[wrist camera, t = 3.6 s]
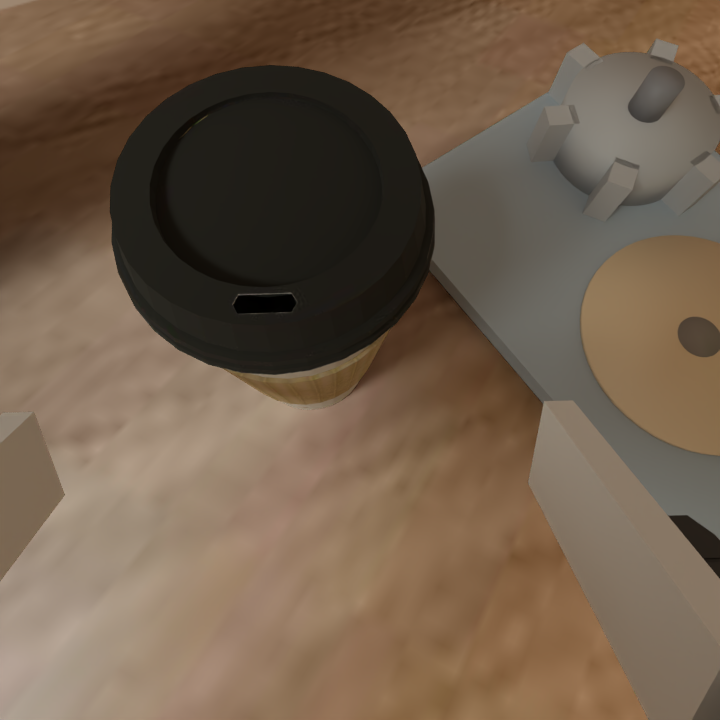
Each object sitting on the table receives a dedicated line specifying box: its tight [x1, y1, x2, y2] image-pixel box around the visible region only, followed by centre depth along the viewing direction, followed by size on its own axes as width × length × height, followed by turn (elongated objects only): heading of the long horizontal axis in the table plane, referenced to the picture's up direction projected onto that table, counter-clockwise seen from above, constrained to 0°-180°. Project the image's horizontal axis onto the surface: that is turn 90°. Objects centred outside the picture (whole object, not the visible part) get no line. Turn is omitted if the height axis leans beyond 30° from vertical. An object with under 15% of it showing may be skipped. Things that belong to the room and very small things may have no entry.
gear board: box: [422, 39, 720, 540], centre depth 26 cm, size 30×20×6 cm
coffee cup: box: [110, 65, 435, 410], centre depth 20 cm, size 10×10×15 cm
